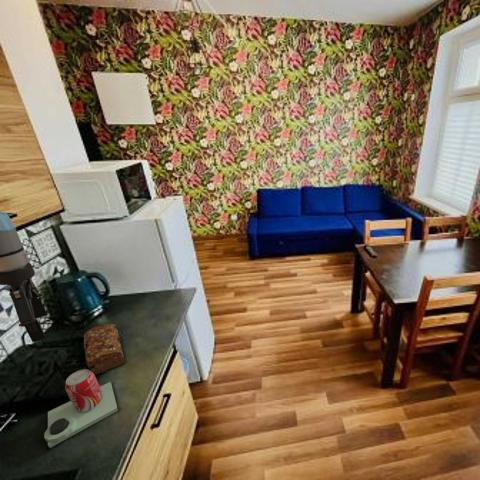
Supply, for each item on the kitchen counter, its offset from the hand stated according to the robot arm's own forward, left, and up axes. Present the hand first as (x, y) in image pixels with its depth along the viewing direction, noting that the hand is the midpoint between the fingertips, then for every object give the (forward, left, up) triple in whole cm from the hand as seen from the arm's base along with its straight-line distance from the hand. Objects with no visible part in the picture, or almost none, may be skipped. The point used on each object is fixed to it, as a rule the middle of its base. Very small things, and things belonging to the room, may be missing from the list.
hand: (40, 327), depth 82 cm
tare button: (-2, -18, -24) cm, 30 cm away
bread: (+12, +9, -27) cm, 31 cm away
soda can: (+5, -13, -26) cm, 29 cm away
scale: (+3, -14, -27) cm, 30 cm away
